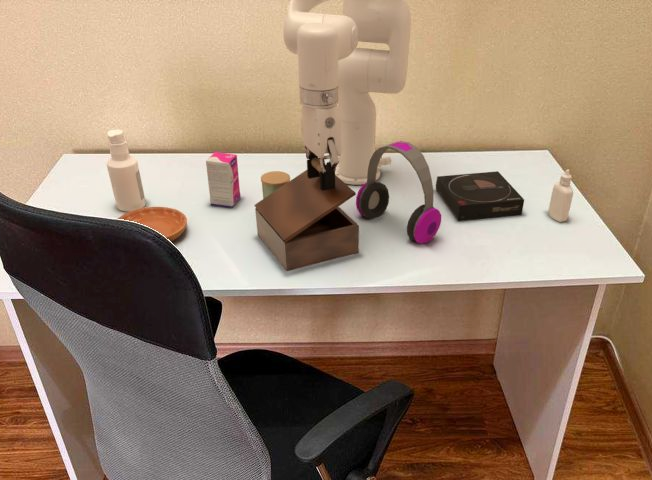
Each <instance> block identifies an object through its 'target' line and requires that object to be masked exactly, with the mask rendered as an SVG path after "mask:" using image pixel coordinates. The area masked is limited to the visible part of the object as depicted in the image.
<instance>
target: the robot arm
mask: <svg viewBox="0 0 652 480" xmlns="http://www.w3.org/2000/svg"><path fill="white" fill-rule="evenodd" d="M328 1H329V0H288V3H287V9H286V12H285V17H284V22H283V30H282V31H283V33H282V37H283V42H284V45H285V47H286V49H287V50H288V51H289V52H290V53H292V54H295V55H297V67H298V70H297V71H298V91H299V94H298V95H299V104H300V105H301V111H300V112H301V117H300V124H301V125H300V126H301V140H302V144H303V145H304V148H305V158H306V170H307V177H308V178H309V179H311V178H316V177H320V189H321V190H322V191H323V190H328V189H333V188H335V175H336V176H337V177H338V178H340V179H341V180H342V181H343V182H344V183H345V184H346V185H353V186H354V185H357V186H358V185H361V186H362V185H364V184H365V183H366V182H367V174H368V166H369V162H370V159H371V157H372V155H373V153H374V152H375V151H376V133H377V131H376V128H377V107H376V104H375V102H374V100H373V98H372V96H371V95H370V94H369V93H375V94H376V93H377V94H387V95H389V94H390V95H395V94H396V95H397V94H400V93H401V92H402V91H403V90H404V88H405V86H406V82H407V75H408V64H409V53H410V40H411V39H410V38H411V29H412V28H411V26H412V16H411V9H410V7H409V5H408V3H407V2H406V1H405V0H343V4H342V14H330V13H323V12H321V13H320V12H311V11H312V9H315V7H317V6H318V5H320V4H323V3H325V2H328ZM359 42H361V43H362V42H363V43H371V44H372V43H373V44H384V45H387V46H388V47H389V50H387V49H376V48H367V47H357V46H358V43H359ZM327 153H328V154H327ZM325 154H327V155H325ZM313 158H318V159H320V164H321V170H322V171H320V174H319V172H318V171H317V170H316V169H315V168H314V167H313V166H312V165H311V161H312V159H313ZM325 160H329V161H327V162H326V161H325ZM391 164H392V158H391V157H390V156H385V157H383V156H382V157H381V158H380V161H379V164H378V167H377V173H376V181H377V180H379V179H380V177H381V170H380V168H381V167H382V166H387V165H391Z"/></svg>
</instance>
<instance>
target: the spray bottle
mask: <svg viewBox="0 0 652 480" xmlns="http://www.w3.org/2000/svg"><path fill="white" fill-rule="evenodd" d="M107 138H108V142H107V143H108V147H109V154H110V157H111V158H109V159H108V160H107V161H106V167H107V172H108V177H109V179H110V180H109V181H110V184H111V189H112V193H113V197H114V201H115V205H116V209H118V210H120V211H122V212H130V211H133V210H136V209H141V208H145V206H146V204H147V202H146V197H145V192H144V186H143V182H142V178H141V173H140V168H139V164H138V159H137V158H136V157H134V156H133V155H130V151H129V148H128V143H127V140H126V138H125V134H124V131H123V129H111V130H108V131H107Z"/></svg>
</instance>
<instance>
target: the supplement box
mask: <svg viewBox="0 0 652 480" xmlns="http://www.w3.org/2000/svg"><path fill="white" fill-rule="evenodd" d="M205 166H206V173H207V174H206V175H207V184H208V193H209V201H210V206H212V207H219V208H227V209H233V208H234V207H235V205H236V204H237V203H238V201H239V200H240V199H241V189H240V187H241V186H240V177H239V165H238V154H233V153H226V152H220V151H215V152H213V153H212V154H211V155H210V156H209V157H208V158H207V159H206V160H205Z"/></svg>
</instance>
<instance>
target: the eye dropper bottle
mask: <svg viewBox="0 0 652 480" xmlns="http://www.w3.org/2000/svg"><path fill="white" fill-rule="evenodd" d="M572 176H573V175H572V174H570V169H565V171H564V173H561V174H560V179H559V182H556V183H555V184H553V187H552V191H551V196H550V201H549V205H548V210H547V214H548V215H549V218H551V219H553V220H554V221H556V222H557V223H558V222H559V223H560V222H561V223H562V222H567V221H568V218H569V215H570V210H571V205H572V202H573V197H574V189H573V187H572V186H571V181H572V178H573V177H572Z"/></svg>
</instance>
